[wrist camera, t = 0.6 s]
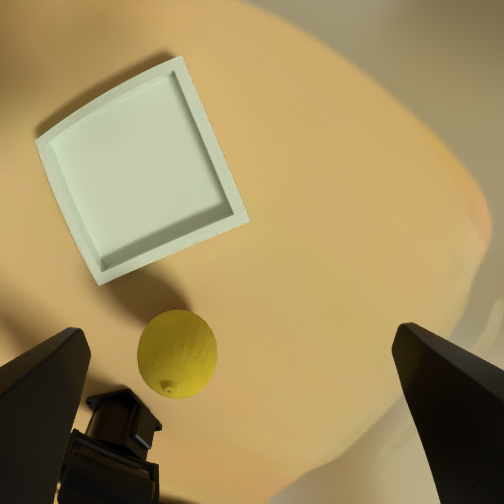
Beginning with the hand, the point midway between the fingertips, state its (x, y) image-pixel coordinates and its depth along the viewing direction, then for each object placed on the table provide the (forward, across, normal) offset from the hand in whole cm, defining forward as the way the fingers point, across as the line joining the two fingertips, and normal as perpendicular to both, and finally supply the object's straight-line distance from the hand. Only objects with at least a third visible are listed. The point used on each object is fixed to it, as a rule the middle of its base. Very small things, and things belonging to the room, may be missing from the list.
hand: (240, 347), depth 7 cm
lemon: (+14, +5, +9) cm, 17 cm away
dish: (+14, +7, -3) cm, 16 cm away
